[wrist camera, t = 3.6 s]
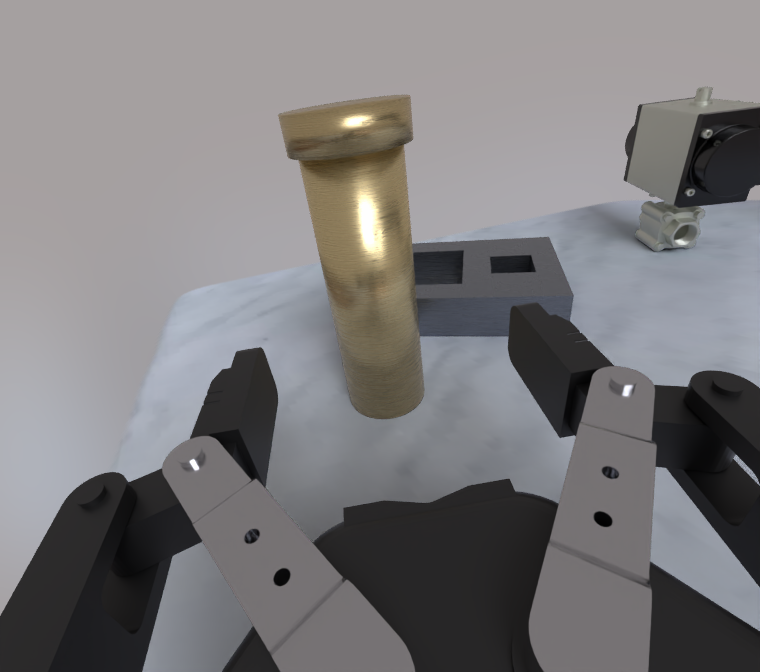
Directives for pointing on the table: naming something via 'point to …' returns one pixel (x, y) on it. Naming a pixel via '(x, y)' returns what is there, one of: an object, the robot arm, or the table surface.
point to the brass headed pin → (364, 242)
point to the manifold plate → (485, 284)
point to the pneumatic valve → (691, 162)
